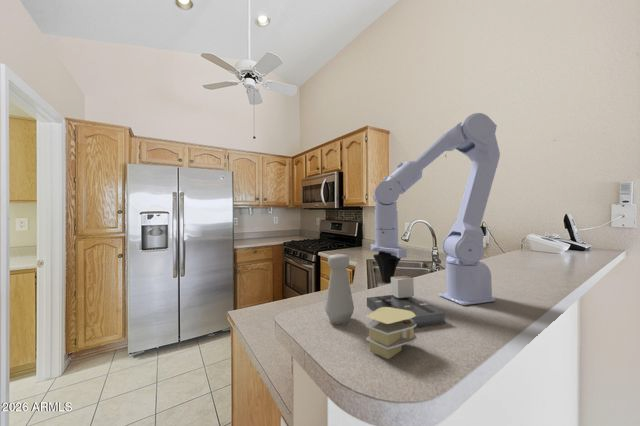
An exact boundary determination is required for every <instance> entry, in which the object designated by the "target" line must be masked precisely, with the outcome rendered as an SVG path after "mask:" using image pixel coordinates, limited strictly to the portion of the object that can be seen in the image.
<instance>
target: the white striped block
mask: <svg viewBox="0 0 640 426" xmlns="http://www.w3.org/2000/svg"><path fill="white" fill-rule="evenodd" d="M414 284H415V283H414V278H413V277H410V276H407V275H401V276H398V275H397V276H394V277H391V283H390V295H394V296H395V297H397V298H403V297H415V294H414V293H415V292H414V291H415V289H414V287H415V285H414Z"/></svg>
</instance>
